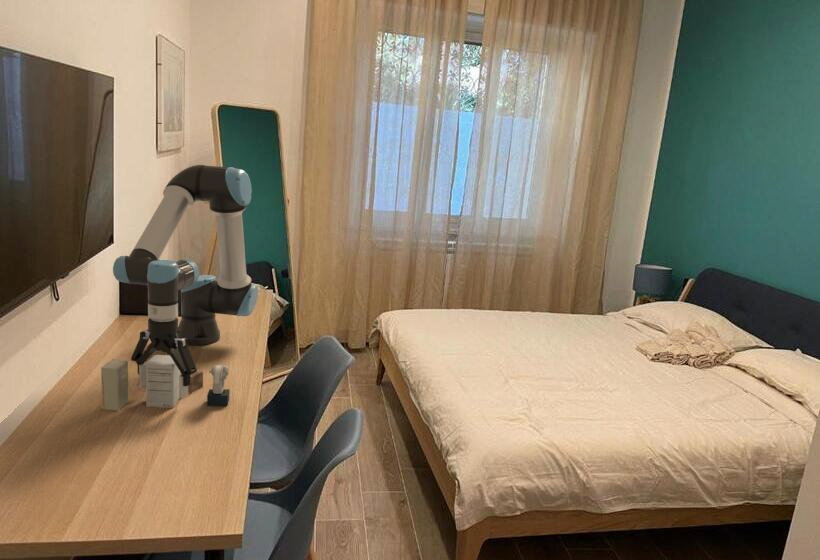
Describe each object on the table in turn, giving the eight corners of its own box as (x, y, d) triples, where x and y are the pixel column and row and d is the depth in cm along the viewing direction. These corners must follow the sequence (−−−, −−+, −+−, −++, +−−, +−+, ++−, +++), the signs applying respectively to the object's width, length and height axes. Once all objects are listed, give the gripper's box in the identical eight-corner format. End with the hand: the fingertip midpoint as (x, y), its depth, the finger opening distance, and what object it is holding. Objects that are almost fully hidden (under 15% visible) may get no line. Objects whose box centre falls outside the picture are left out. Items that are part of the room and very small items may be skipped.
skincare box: (113, 400, 164) (112, 358, 162) (129, 401, 164) (128, 360, 162) (101, 410, 158) (100, 367, 156) (117, 411, 158) (116, 368, 155)
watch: (230, 396, 173) (230, 360, 170) (226, 408, 165) (227, 371, 163) (210, 396, 172) (210, 360, 169) (205, 408, 164) (206, 371, 162)
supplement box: (154, 395, 169) (154, 354, 166) (181, 397, 170) (181, 355, 167) (145, 407, 162) (144, 363, 159) (173, 408, 163) (173, 365, 160)
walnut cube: (189, 383, 179) (189, 368, 178) (202, 387, 178) (203, 371, 177) (177, 389, 175) (177, 373, 173) (191, 393, 173) (191, 377, 172)
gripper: (115, 313, 161) (117, 386, 166) (191, 329, 153) (191, 405, 158) (136, 307, 168) (138, 377, 173) (210, 322, 160) (209, 395, 165)
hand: (163, 391), depth 165 cm, fingers open, 13 cm apart
